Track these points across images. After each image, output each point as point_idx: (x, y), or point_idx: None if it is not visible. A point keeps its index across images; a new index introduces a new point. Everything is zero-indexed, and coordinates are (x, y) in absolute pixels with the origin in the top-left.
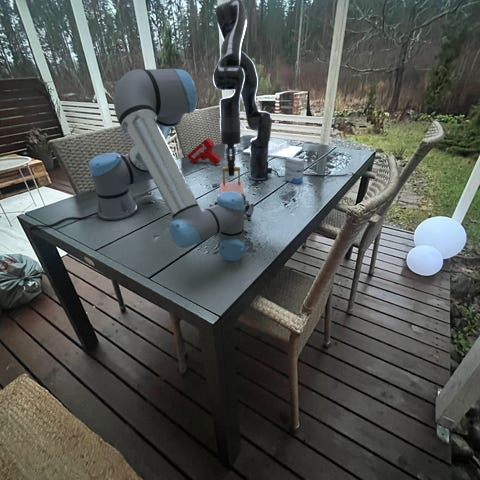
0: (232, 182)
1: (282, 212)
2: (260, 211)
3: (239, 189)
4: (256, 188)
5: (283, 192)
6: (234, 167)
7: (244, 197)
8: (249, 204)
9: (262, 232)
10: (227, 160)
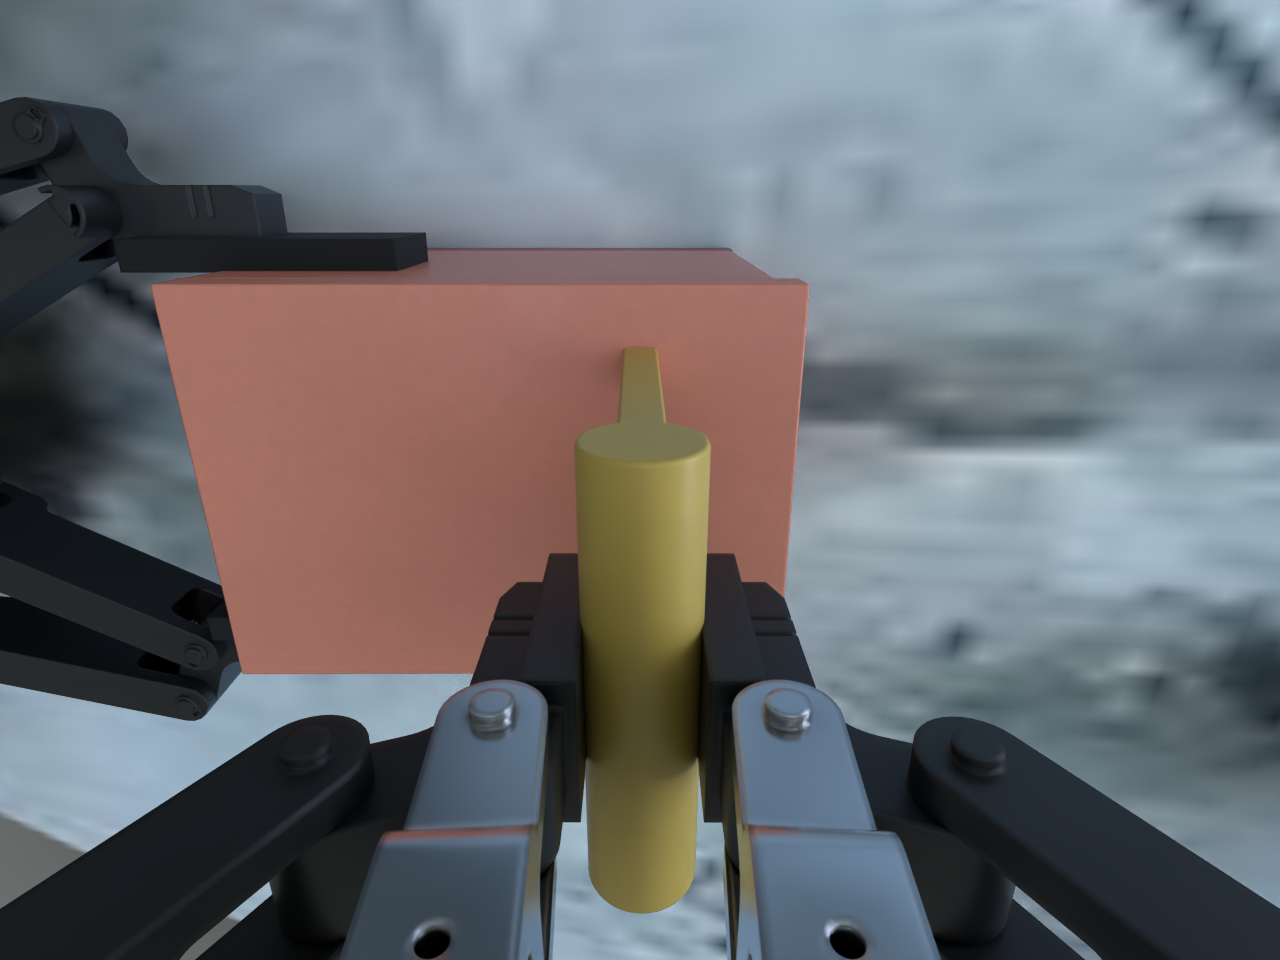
0: (760, 514)
1: None
2: None
3: (422, 620)
4: (1132, 677)
5: None
6: (623, 795)
7: None
8: (219, 666)
9: None
10: (381, 859)
